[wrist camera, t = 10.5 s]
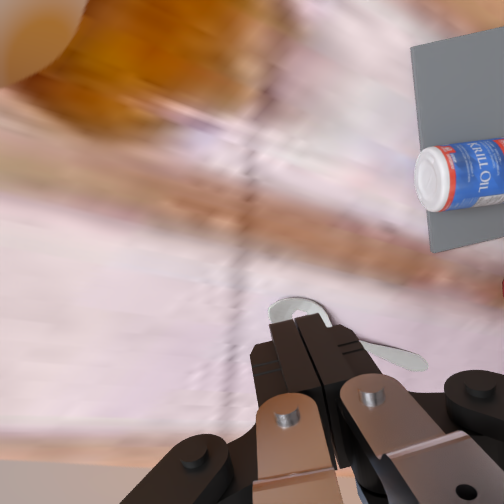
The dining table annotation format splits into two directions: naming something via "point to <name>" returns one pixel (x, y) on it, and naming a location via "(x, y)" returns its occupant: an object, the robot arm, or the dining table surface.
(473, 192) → the pill bottle
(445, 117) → the mat
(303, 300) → the spoon
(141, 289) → the dining table surface
